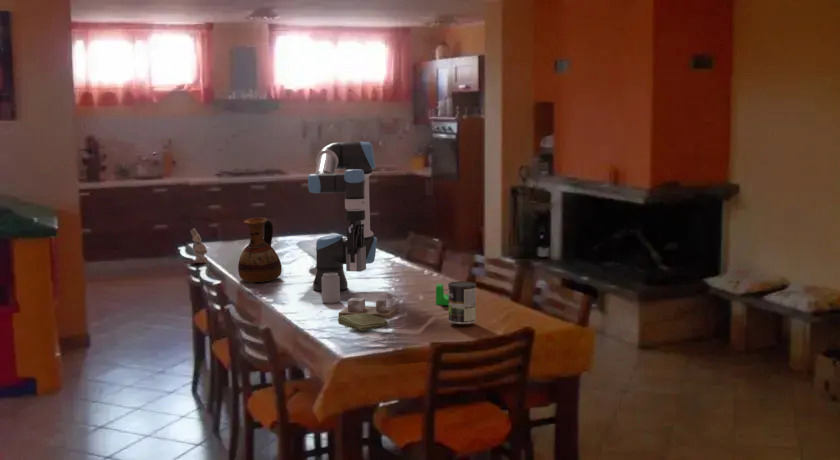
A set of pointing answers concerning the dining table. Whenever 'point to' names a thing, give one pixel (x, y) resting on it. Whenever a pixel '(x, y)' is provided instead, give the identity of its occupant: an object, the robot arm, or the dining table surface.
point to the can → (330, 288)
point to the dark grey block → (358, 259)
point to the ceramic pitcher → (259, 253)
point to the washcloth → (362, 321)
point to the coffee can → (462, 302)
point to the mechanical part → (441, 296)
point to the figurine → (198, 247)
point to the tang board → (369, 308)
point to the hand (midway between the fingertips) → (356, 269)
